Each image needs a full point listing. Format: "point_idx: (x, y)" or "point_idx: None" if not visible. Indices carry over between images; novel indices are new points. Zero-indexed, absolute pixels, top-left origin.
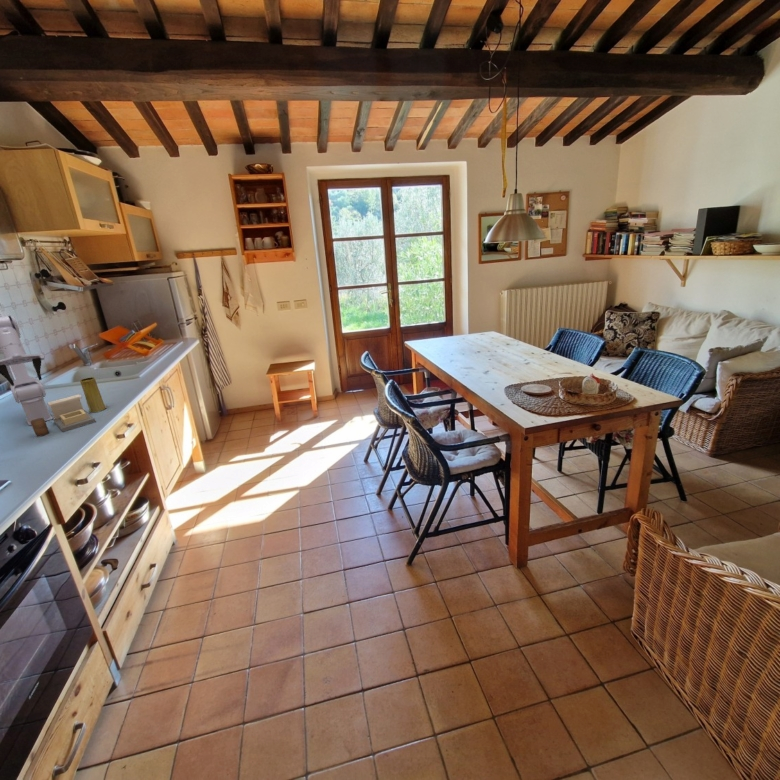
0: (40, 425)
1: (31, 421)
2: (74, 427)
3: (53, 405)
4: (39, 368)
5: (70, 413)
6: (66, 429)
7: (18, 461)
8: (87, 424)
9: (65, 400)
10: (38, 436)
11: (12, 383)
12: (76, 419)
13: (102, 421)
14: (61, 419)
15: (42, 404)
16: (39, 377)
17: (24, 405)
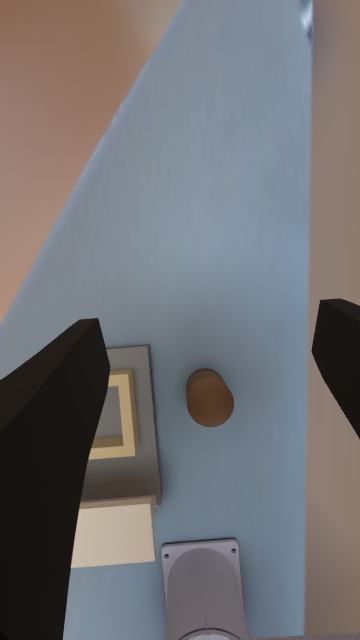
0: (204, 377)
1: (229, 404)
2: (111, 348)
3: (134, 500)
4: (7, 379)
5: (97, 447)
6: (135, 346)
7: (280, 172)
8: None
9: (79, 512)
10: (218, 374)
11: (333, 300)
12: None
13: (25, 337)
14: (135, 429)
15: (175, 618)
16: (90, 321)
17: (244, 636)
